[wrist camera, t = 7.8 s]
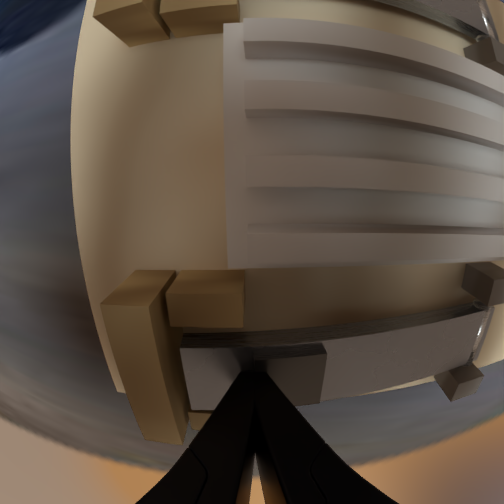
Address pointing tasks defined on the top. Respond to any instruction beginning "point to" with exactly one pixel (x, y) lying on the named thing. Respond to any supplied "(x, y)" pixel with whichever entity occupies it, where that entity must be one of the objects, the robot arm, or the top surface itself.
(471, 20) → the strap
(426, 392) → the top surface
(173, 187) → the heatsink board
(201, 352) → the strap
